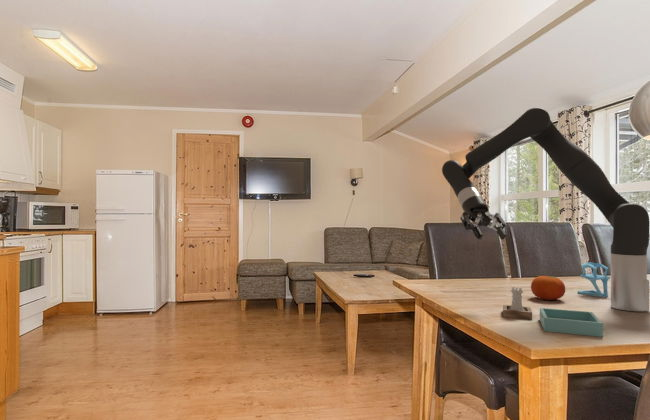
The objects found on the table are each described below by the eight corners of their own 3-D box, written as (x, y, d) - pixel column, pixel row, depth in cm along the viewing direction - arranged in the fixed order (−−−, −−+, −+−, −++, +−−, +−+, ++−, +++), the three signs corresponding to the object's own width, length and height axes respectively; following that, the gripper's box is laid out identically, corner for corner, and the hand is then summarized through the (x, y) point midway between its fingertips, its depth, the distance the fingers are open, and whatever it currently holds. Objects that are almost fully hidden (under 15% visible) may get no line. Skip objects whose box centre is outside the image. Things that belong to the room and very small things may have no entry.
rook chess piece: (520, 313, 123) (520, 286, 123) (528, 317, 119) (528, 289, 119) (505, 313, 123) (505, 286, 123) (513, 317, 119) (513, 289, 119)
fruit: (526, 298, 145) (526, 276, 145) (537, 295, 152) (537, 273, 152) (559, 303, 137) (559, 279, 137) (569, 299, 144) (569, 276, 144)
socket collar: (530, 313, 123) (530, 306, 123) (532, 319, 116) (532, 312, 116) (502, 311, 126) (502, 304, 126) (503, 316, 119) (503, 309, 119)
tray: (591, 324, 111) (591, 311, 111) (602, 336, 100) (602, 323, 100) (539, 319, 116) (539, 307, 116) (544, 330, 105) (544, 317, 105)
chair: (596, 297, 147) (596, 264, 147) (576, 293, 155) (577, 261, 155) (613, 296, 150) (613, 263, 150) (593, 292, 158) (593, 261, 158)
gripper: (458, 194, 139) (478, 229, 128) (495, 195, 143) (517, 230, 131) (449, 210, 144) (468, 245, 133) (485, 210, 148) (506, 245, 136)
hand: (492, 237), depth 132 cm, fingers open, 8 cm apart
